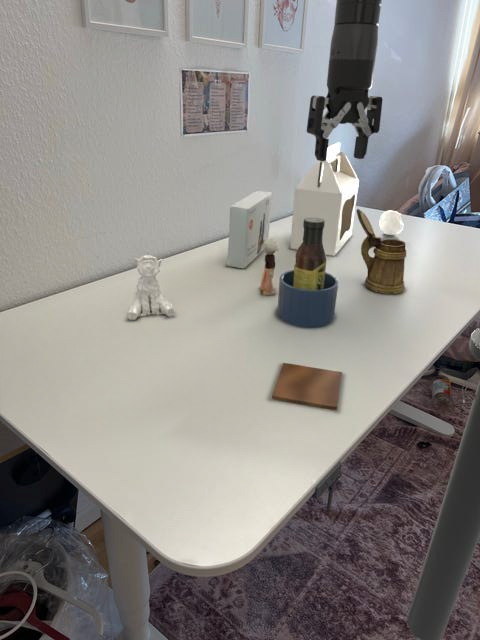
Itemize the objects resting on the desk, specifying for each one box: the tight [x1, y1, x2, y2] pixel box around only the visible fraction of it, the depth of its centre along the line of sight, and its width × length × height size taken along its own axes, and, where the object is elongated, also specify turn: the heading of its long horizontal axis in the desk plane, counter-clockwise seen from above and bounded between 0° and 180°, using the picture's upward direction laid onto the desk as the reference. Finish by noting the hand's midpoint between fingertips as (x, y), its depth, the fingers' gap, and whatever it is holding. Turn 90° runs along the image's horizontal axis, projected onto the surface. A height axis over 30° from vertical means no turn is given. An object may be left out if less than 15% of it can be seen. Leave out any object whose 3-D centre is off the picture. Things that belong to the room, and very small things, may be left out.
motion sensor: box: [378, 209, 404, 236], centre depth 152 cm, size 8×8×8 cm
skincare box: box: [226, 190, 273, 269], centre depth 129 cm, size 21×6×16 cm, turn 160°
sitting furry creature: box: [126, 254, 175, 321], centre depth 98 cm, size 10×9×12 cm
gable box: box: [289, 141, 360, 257], centre depth 139 cm, size 22×13×28 cm, turn 156°
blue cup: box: [277, 269, 339, 329], centre depth 99 cm, size 12×12×8 cm
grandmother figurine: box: [259, 238, 280, 296], centre depth 108 cm, size 8×4×13 cm, turn 12°
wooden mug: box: [356, 208, 407, 295], centre depth 112 cm, size 9×14×18 cm, turn 69°
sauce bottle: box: [293, 217, 327, 290], centre depth 96 cm, size 6×6×20 cm
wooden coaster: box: [271, 362, 343, 411], centre depth 77 cm, size 10×10×1 cm
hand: (340, 159), depth 87 cm, fingers open, 8 cm apart
